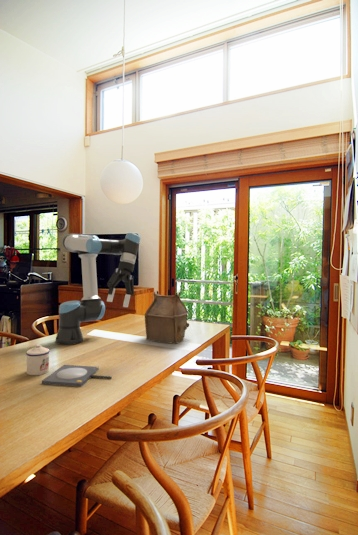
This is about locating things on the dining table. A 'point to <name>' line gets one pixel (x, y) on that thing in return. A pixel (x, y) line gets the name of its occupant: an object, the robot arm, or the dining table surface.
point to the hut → (166, 319)
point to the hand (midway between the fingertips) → (117, 304)
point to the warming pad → (72, 375)
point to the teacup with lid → (37, 360)
